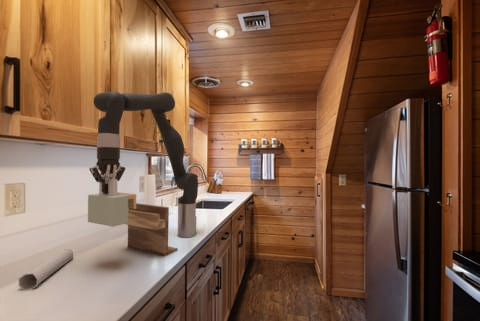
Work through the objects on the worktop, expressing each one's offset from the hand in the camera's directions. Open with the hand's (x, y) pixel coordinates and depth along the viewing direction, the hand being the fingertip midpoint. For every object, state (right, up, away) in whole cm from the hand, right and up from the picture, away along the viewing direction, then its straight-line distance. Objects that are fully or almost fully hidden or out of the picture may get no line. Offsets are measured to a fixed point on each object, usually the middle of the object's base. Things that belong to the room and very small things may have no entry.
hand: (108, 193), depth 92 cm
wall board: (+8, -27, +17) cm, 33 cm away
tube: (-18, -27, -4) cm, 33 cm away
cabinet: (+1, -11, +2) cm, 11 cm away
